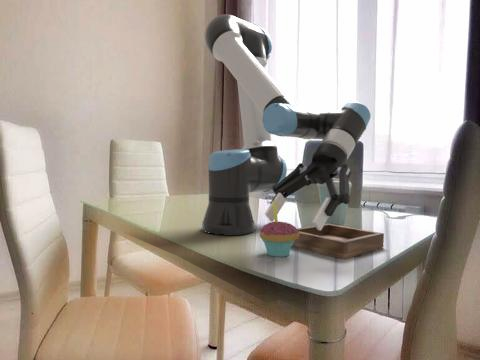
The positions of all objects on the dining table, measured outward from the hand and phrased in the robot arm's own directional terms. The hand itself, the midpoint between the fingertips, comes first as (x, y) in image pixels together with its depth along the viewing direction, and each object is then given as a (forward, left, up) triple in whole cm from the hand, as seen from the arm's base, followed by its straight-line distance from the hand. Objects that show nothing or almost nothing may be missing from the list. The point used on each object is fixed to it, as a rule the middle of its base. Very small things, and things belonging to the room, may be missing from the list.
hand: (290, 221), depth 77 cm
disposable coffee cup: (-16, +37, -7) cm, 41 cm away
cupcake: (-2, -2, -7) cm, 8 cm away
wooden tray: (+1, +14, -7) cm, 16 cm away
